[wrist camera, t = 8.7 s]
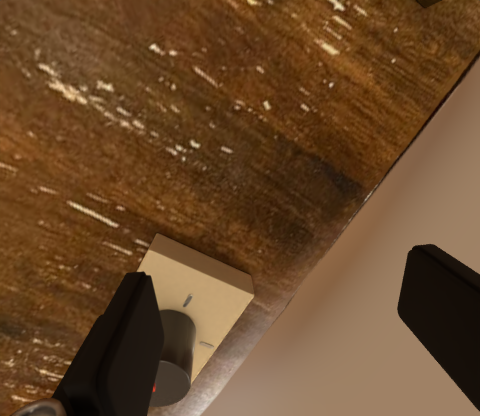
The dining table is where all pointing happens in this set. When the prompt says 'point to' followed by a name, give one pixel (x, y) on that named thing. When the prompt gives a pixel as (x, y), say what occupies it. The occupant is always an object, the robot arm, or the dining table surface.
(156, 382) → the knob
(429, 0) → the button block
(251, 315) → the dining table surface
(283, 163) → the dining table surface
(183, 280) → the panel
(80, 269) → the dining table surface
